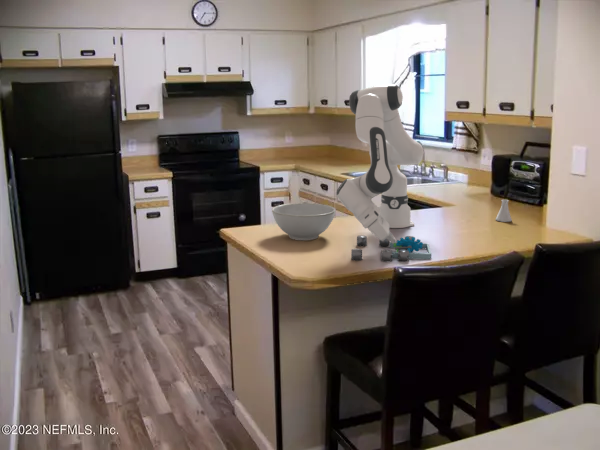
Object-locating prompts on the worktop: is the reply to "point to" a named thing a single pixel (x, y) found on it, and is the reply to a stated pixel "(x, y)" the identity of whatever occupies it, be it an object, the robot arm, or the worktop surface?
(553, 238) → the worktop surface
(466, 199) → the worktop surface
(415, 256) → the light blue u-shaped piece
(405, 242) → the gear
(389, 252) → the spacers
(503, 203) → the flask
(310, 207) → the decorative bowl
